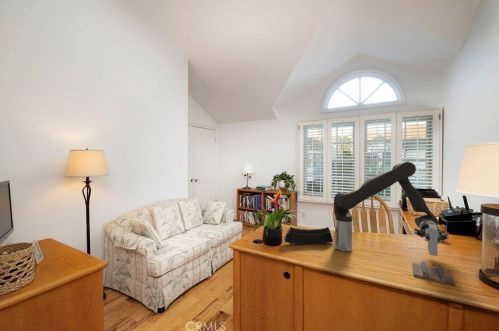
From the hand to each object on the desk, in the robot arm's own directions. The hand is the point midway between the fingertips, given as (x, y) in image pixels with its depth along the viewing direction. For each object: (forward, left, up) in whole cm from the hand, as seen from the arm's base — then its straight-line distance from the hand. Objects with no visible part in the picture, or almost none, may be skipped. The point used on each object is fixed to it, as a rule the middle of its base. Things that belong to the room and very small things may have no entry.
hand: (433, 239), depth 100 cm
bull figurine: (+6, +60, -17) cm, 63 cm away
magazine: (-60, +5, -17) cm, 62 cm away
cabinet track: (0, +1, -17) cm, 17 cm away
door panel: (0, +2, -7) cm, 7 cm away
